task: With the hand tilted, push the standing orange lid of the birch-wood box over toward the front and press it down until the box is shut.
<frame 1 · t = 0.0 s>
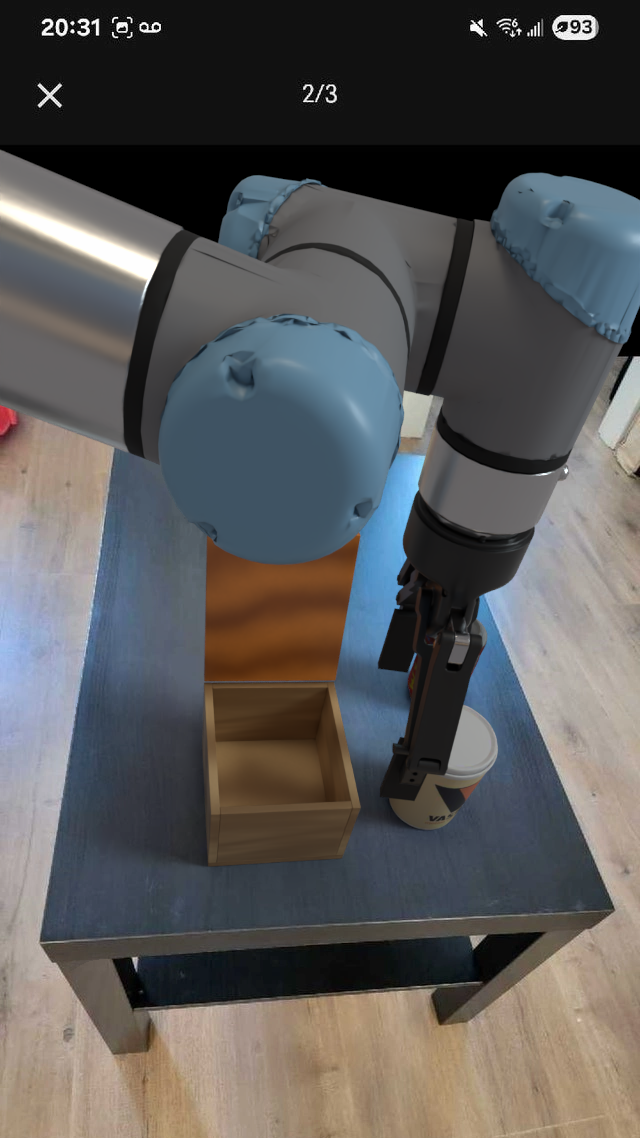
hand: (394, 726, 57), 19 cm above the table, tool pointing down, fingers open, 13 cm apart
coffee cup: (421, 801, 76), on the table
lid: (277, 610, 65), point 18 cm above the table, hinge at 100.0°
soda can: (430, 697, 87), on the table
chest: (268, 796, 73), on the table
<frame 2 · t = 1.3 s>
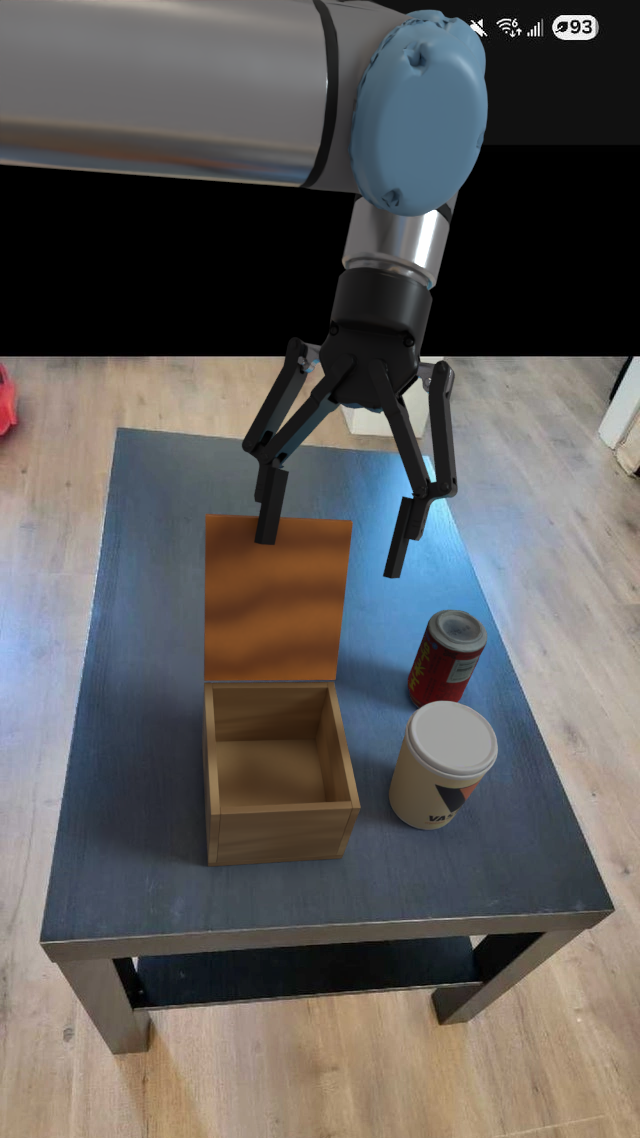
hand: (325, 560, 60), 26 cm above the table, tool tilted 30°, fingers open, 11 cm apart
lid: (275, 603, 67), point 18 cm above the table, hinge at 111.1°, touching gripper
everything else where it was.
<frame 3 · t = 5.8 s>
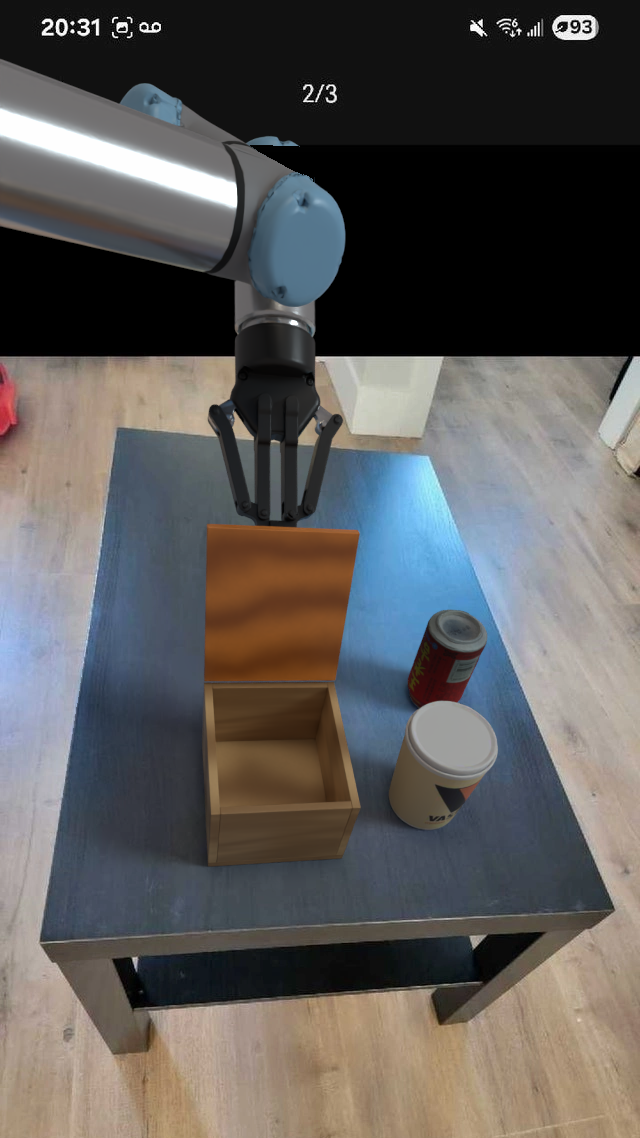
hand: (276, 591, 66), 19 cm above the table, tool tilted 45°, fingers closed
lid: (277, 609, 66), point 18 cm above the table, hinge at 101.2°, touching gripper
everything else where it was.
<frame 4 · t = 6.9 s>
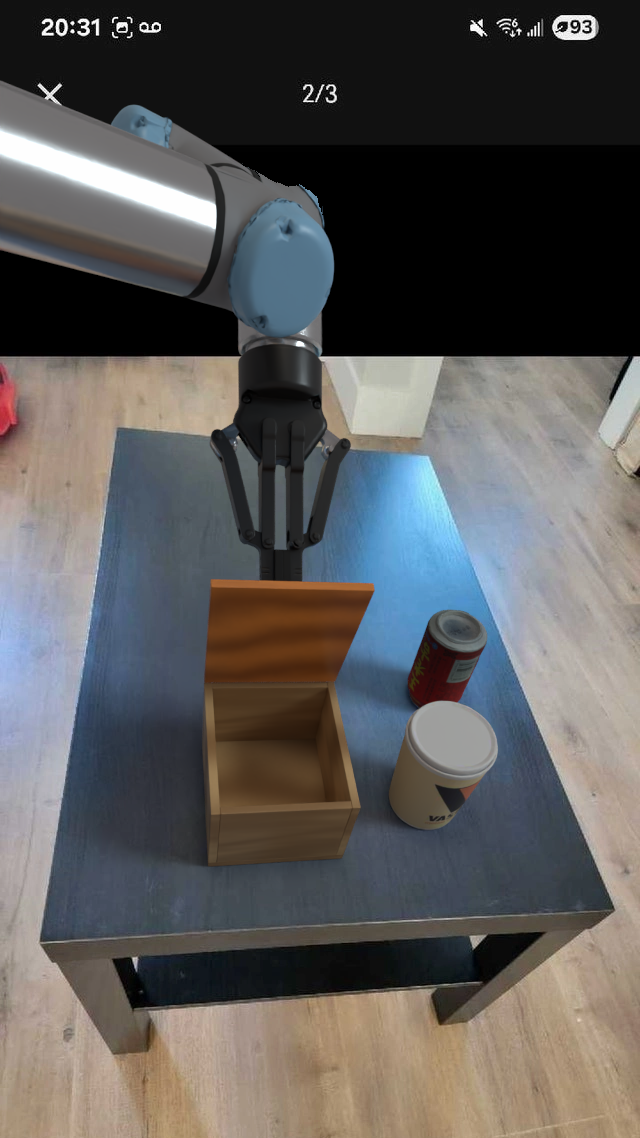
hand: (280, 622, 64), 19 cm above the table, tool tilted 45°, fingers closed
lid: (281, 637, 63), point 18 cm above the table, hinge at 75.4°, touching gripper
everything else where it was.
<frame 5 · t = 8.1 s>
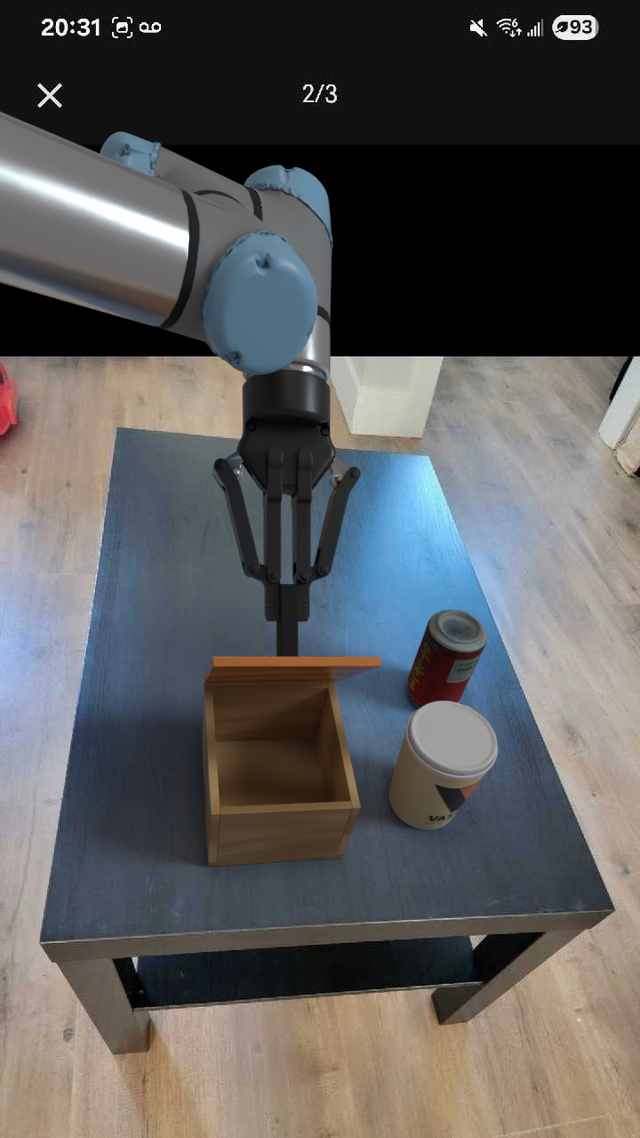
hand: (287, 659, 61), 19 cm above the table, tool tilted 45°, fingers closed
lid: (283, 671, 63), point 17 cm above the table, hinge at 52.4°
everything else where it was.
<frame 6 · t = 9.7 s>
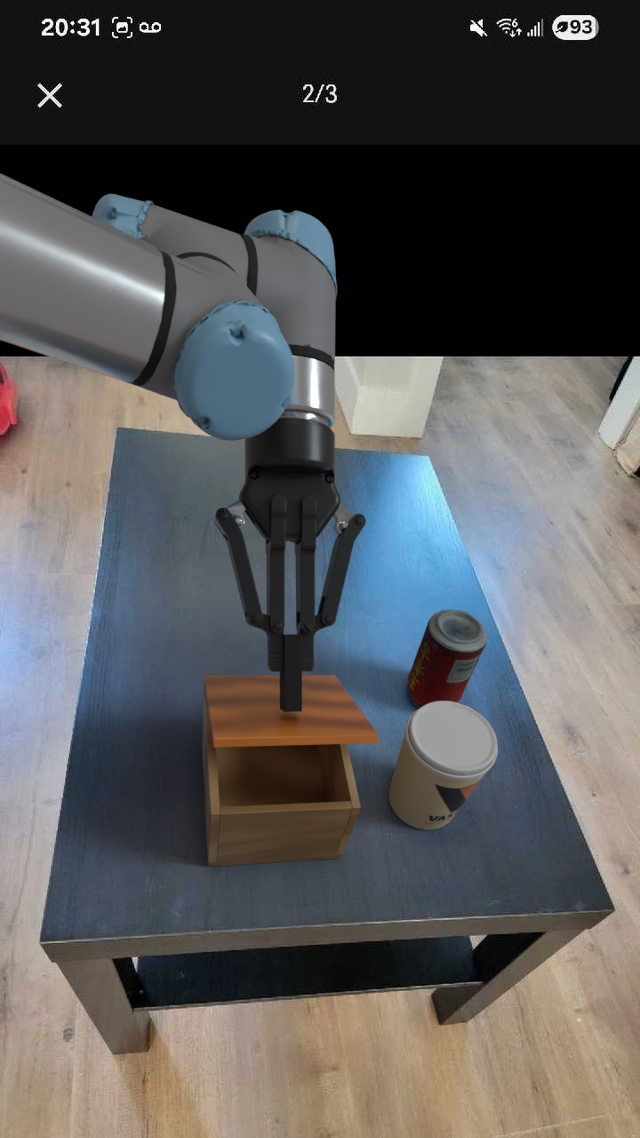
hand: (290, 709, 59), 17 cm above the table, tool tilted 45°, fingers closed
lid: (282, 706, 63), point 14 cm above the table, hinge at 29.8°, touching gripper
everything else where it was.
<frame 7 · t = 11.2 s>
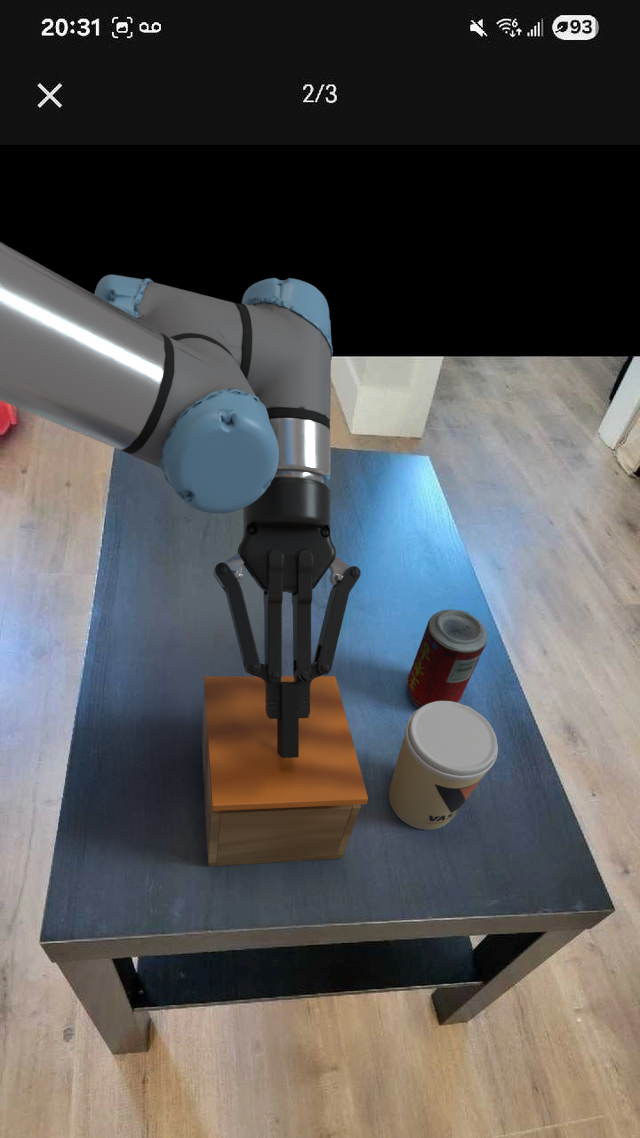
hand: (287, 755, 61), 13 cm above the table, tool tilted 45°, fingers closed
lid: (280, 736, 65), point 11 cm above the table, hinge at 6.4°, touching gripper
everything else where it was.
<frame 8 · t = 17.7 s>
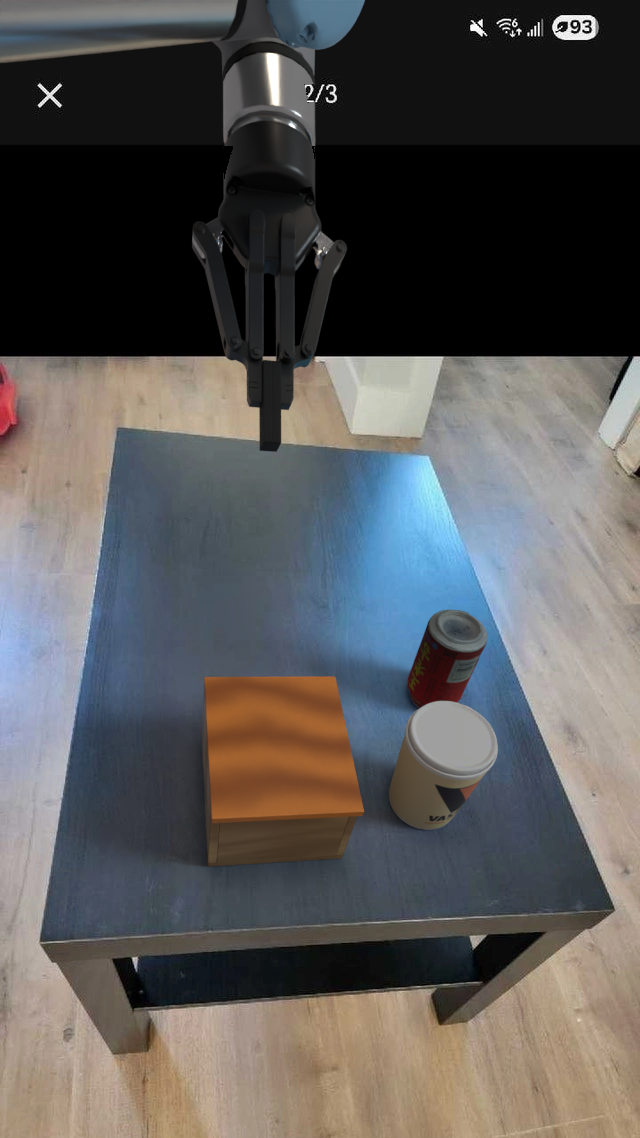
hand: (270, 446, 58), 32 cm above the table, tool tilted 45°, fingers closed
lid: (279, 742, 66), point 10 cm above the table, hinge at -0.2°, touching chest
everything else where it was.
at the end: lid at +0° (first picture: +100°) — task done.
